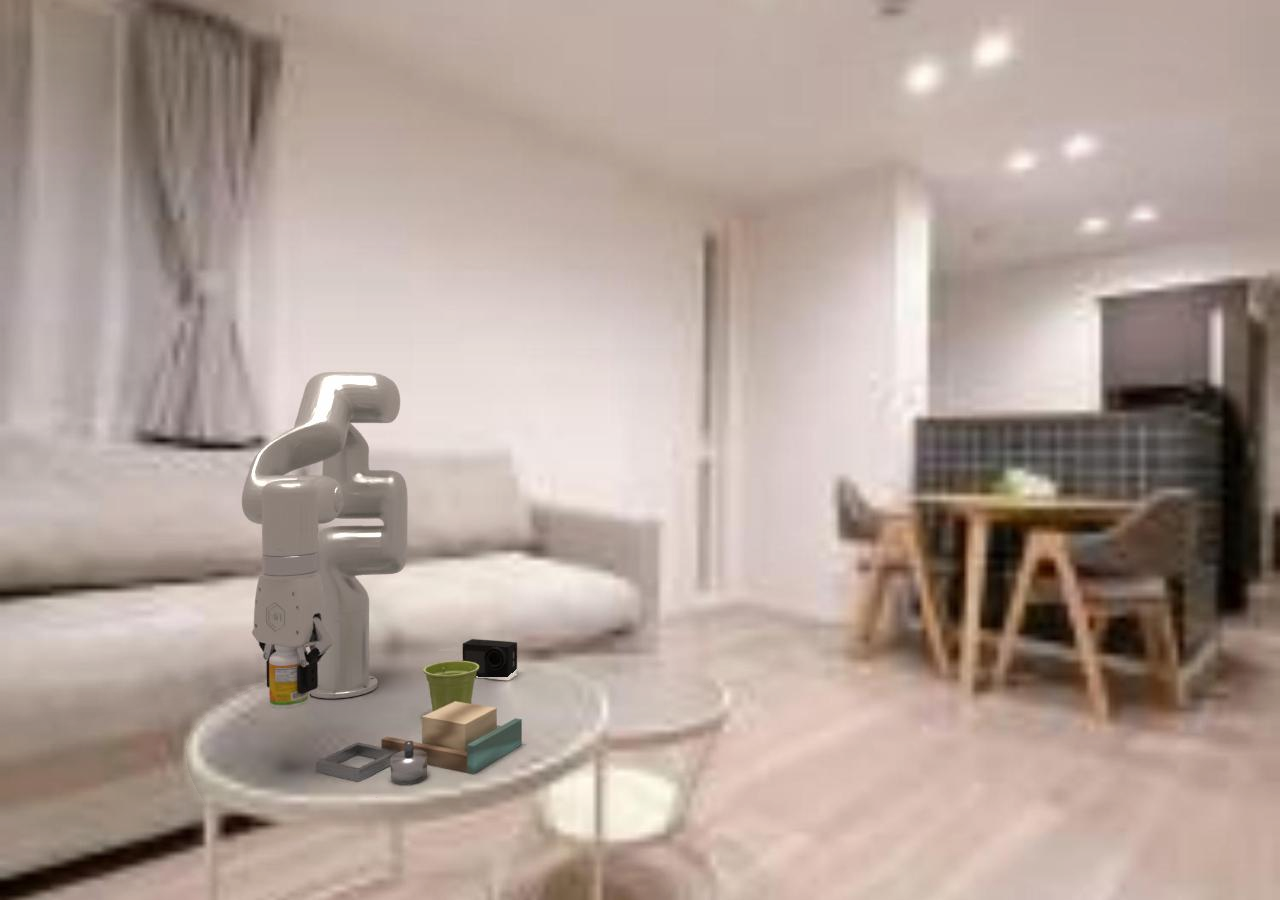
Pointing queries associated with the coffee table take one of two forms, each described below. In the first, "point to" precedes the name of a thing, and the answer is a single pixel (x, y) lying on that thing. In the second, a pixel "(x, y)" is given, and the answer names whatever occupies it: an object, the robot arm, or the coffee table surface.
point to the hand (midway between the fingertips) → (292, 686)
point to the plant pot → (450, 682)
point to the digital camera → (491, 657)
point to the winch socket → (377, 763)
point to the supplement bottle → (285, 679)
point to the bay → (463, 737)
